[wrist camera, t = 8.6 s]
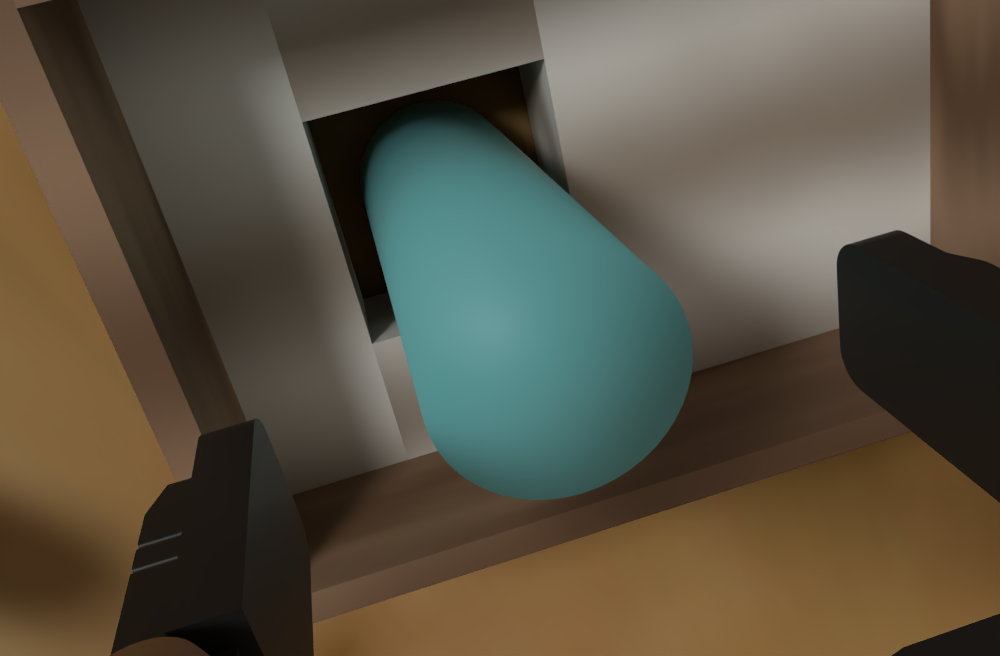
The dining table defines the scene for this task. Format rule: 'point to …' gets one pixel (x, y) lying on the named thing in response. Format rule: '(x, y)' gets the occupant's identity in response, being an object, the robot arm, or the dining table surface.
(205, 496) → the robot arm
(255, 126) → the peg box
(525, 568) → the dining table surface
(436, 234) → the teal peg
